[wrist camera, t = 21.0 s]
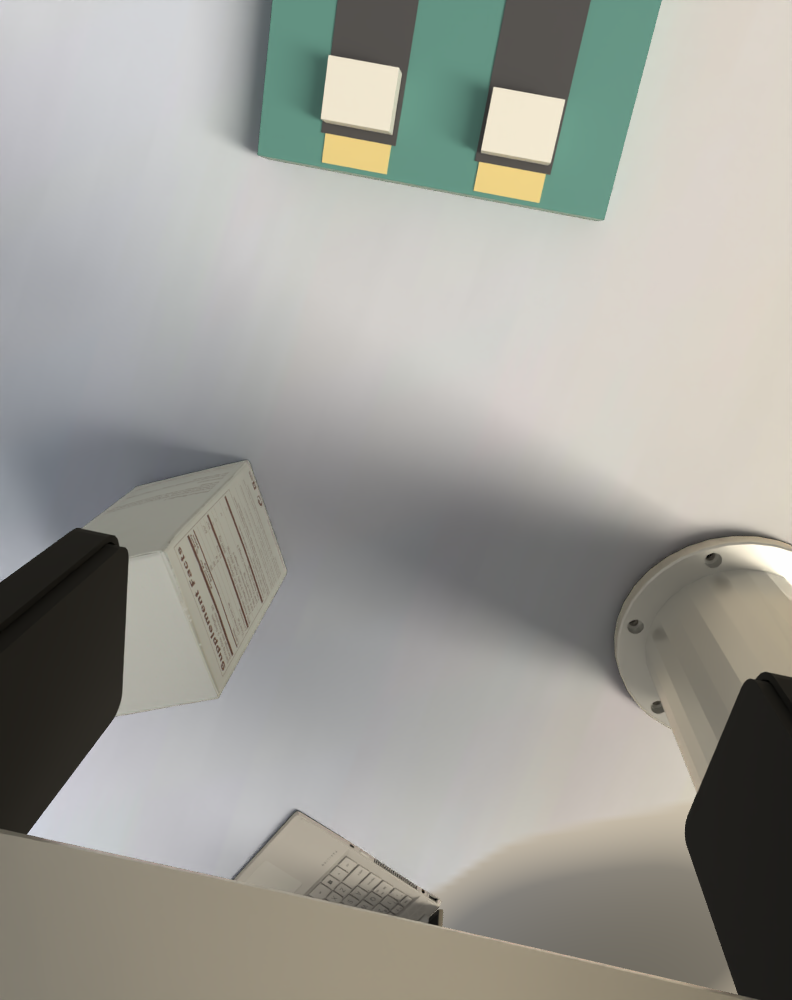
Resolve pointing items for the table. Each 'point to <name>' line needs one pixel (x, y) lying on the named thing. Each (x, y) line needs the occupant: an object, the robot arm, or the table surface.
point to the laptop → (335, 873)
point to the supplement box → (191, 582)
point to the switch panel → (463, 91)
